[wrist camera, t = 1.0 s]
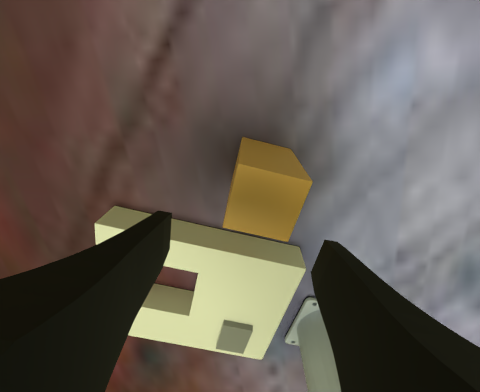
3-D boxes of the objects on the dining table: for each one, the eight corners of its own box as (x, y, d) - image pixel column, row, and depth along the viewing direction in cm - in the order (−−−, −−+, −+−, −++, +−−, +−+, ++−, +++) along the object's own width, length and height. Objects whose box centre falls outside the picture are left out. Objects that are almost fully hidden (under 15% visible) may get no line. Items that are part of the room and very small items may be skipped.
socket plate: (299, 247, 22) (307, 274, 19) (260, 333, 28) (261, 365, 25) (114, 205, 21) (90, 227, 18) (115, 305, 27) (96, 335, 24)
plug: (290, 148, 18) (312, 181, 12) (275, 192, 20) (287, 241, 13) (242, 136, 18) (238, 163, 12) (231, 182, 20) (222, 227, 13)
